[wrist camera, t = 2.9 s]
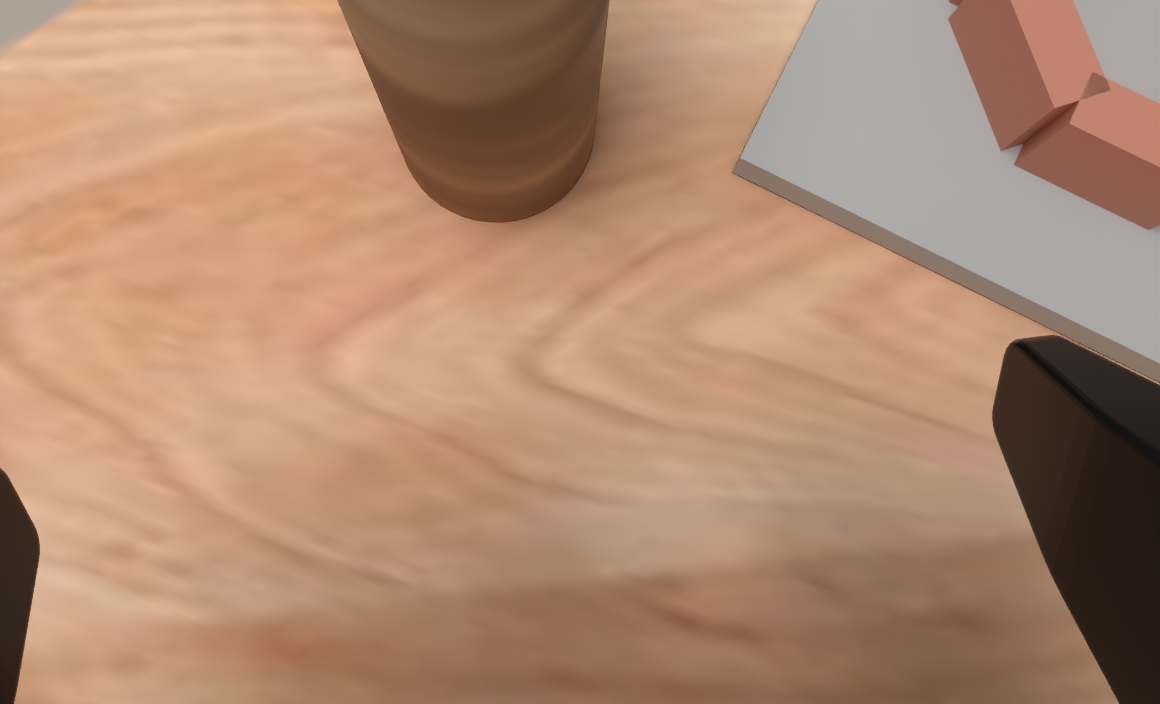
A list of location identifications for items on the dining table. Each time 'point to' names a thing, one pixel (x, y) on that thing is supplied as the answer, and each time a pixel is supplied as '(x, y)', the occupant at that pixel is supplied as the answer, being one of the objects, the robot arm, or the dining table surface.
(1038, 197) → the band dock
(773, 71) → the dining table surface
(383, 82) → the walnut peg
